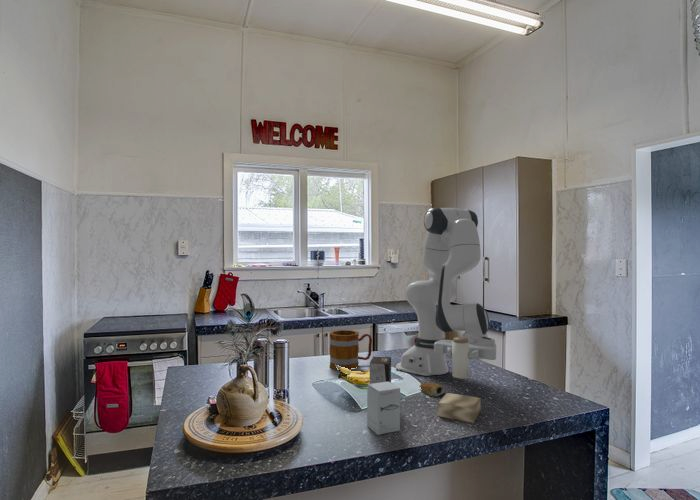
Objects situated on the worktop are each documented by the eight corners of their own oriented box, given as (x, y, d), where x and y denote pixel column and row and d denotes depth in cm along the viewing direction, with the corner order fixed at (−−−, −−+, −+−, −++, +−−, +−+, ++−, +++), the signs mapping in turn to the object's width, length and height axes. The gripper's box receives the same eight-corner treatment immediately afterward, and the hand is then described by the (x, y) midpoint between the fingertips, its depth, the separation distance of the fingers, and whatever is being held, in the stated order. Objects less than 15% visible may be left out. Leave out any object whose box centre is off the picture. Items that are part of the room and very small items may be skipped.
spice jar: (450, 377, 135) (450, 339, 135) (454, 372, 140) (454, 336, 140) (466, 379, 133) (467, 340, 133) (470, 374, 138) (470, 337, 138)
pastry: (415, 390, 159) (415, 380, 159) (428, 387, 163) (428, 377, 163) (434, 398, 151) (434, 387, 151) (446, 394, 155) (447, 383, 155)
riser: (437, 416, 134) (437, 402, 134) (447, 404, 144) (447, 392, 144) (473, 422, 129) (473, 408, 129) (480, 410, 139) (480, 397, 139)
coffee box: (388, 414, 136) (388, 363, 135) (368, 412, 137) (368, 362, 137) (391, 404, 144) (391, 356, 144) (373, 402, 146) (373, 355, 146)
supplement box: (378, 435, 120) (378, 391, 120) (366, 425, 127) (366, 383, 127) (400, 431, 123) (400, 387, 123) (388, 421, 130) (388, 380, 130)
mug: (333, 371, 182) (333, 336, 182) (326, 363, 195) (326, 330, 195) (376, 368, 187) (376, 334, 187) (367, 360, 200) (367, 328, 200)
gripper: (439, 333, 153) (428, 341, 141) (499, 339, 143) (492, 348, 131) (439, 351, 153) (428, 360, 141) (499, 358, 143) (492, 368, 131)
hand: (459, 354), depth 136 cm, fingers closed on spice jar, 5 cm apart
